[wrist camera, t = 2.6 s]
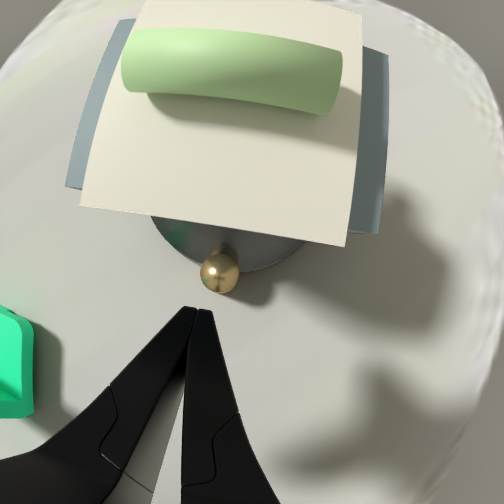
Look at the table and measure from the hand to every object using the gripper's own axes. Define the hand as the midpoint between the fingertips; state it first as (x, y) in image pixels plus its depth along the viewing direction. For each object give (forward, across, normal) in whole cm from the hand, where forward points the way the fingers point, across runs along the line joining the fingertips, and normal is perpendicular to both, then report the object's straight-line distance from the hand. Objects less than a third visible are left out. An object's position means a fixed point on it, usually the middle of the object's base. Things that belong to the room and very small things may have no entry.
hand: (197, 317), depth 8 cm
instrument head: (+12, 0, -2) cm, 12 cm away
